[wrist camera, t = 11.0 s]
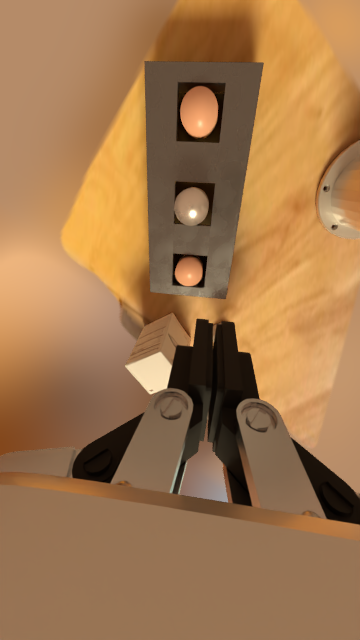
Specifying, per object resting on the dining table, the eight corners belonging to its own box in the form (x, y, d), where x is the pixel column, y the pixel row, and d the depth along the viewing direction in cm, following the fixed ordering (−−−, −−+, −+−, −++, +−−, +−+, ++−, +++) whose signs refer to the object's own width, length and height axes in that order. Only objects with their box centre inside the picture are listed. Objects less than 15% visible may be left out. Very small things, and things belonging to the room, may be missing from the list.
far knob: (204, 255, 36) (203, 261, 33) (201, 279, 38) (201, 287, 36) (178, 253, 36) (175, 258, 34) (177, 277, 38) (174, 285, 36)
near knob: (219, 95, 27) (220, 86, 24) (215, 139, 29) (215, 136, 26) (184, 94, 27) (181, 85, 24) (182, 138, 29) (179, 134, 26)
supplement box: (192, 338, 49) (185, 383, 38) (162, 350, 52) (148, 396, 41) (173, 310, 46) (161, 351, 35) (143, 324, 49) (123, 366, 38)
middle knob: (210, 187, 29) (210, 189, 27) (207, 222, 31) (206, 226, 29) (178, 186, 29) (174, 187, 27) (177, 220, 32) (173, 224, 29)
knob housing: (254, 82, 29) (263, 62, 23) (224, 284, 42) (225, 299, 37) (156, 81, 30) (144, 61, 24) (157, 278, 43) (150, 292, 38)
